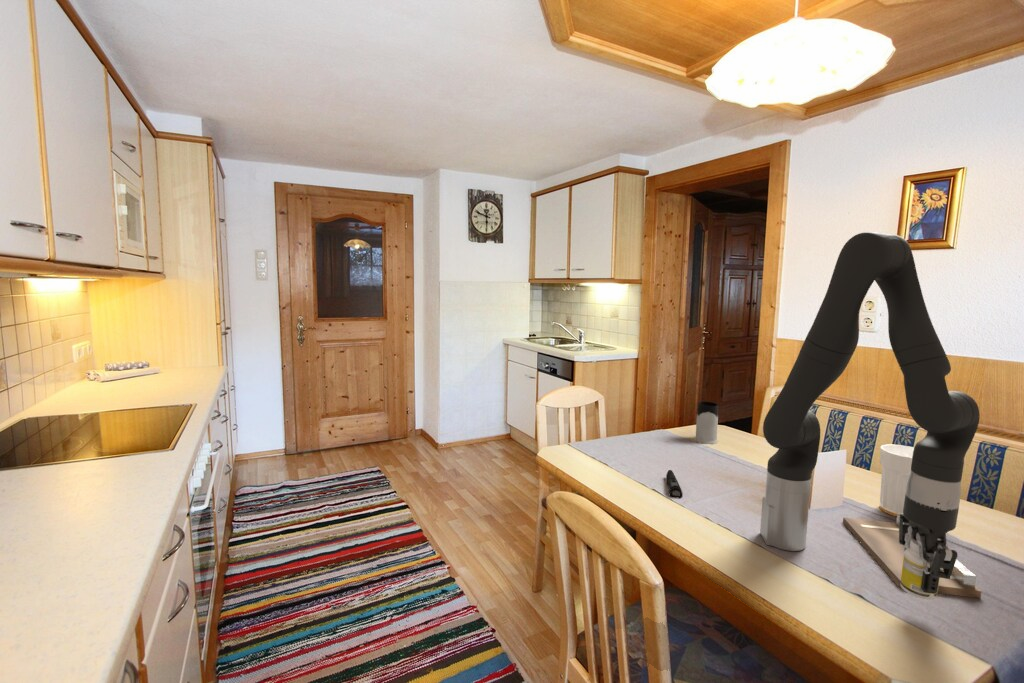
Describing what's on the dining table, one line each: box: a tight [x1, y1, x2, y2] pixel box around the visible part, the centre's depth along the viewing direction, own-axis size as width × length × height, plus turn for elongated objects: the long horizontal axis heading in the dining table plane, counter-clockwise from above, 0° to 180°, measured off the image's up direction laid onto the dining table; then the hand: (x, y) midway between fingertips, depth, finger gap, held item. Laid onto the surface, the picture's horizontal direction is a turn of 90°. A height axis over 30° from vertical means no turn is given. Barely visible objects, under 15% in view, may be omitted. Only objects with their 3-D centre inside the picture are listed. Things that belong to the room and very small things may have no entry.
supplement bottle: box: [900, 539, 940, 601], centre depth 91 cm, size 5×5×10 cm
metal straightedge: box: [895, 515, 978, 588], centre depth 110 cm, size 2×26×2 cm, turn 166°
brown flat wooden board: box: [842, 517, 982, 599], centre depth 112 cm, size 14×28×2 cm, turn 166°
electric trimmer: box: [665, 469, 683, 499], centre depth 149 cm, size 4×16×3 cm, turn 168°
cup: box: [878, 444, 915, 517], centre depth 133 cm, size 11×11×17 cm
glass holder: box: [694, 401, 719, 445], centre depth 195 cm, size 9×14×15 cm, turn 162°
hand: (919, 581), depth 91 cm, fingers closed on supplement bottle, 5 cm apart
